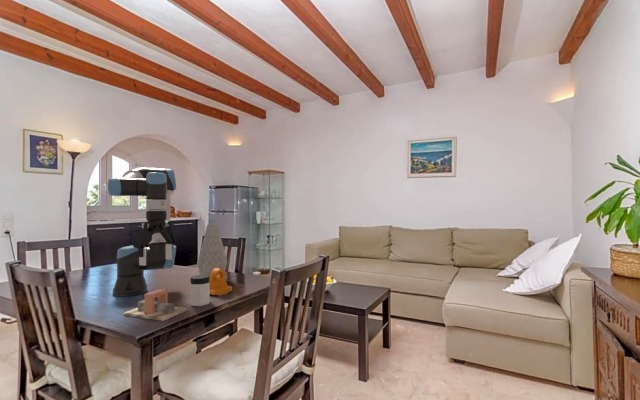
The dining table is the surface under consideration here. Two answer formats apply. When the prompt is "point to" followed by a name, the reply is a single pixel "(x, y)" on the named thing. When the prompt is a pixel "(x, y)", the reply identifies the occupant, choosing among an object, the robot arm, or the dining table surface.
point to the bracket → (218, 282)
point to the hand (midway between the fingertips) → (156, 262)
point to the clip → (150, 299)
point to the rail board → (156, 311)
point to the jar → (200, 290)
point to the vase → (211, 251)
